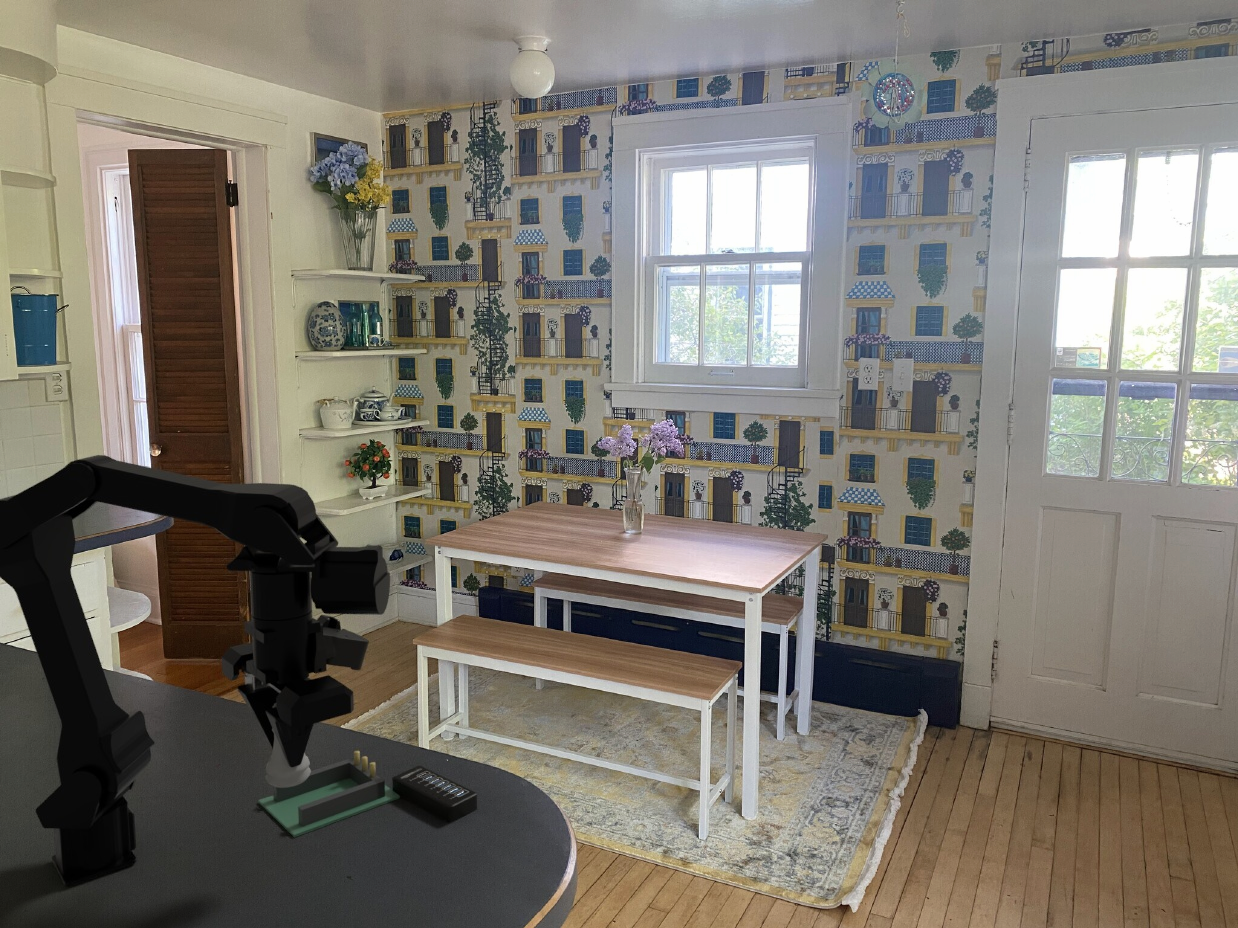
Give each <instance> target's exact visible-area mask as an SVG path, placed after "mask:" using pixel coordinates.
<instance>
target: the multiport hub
mask: <svg viewBox="0 0 1238 928" xmlns="http://www.w3.org/2000/svg"><path fill="white" fill-rule="evenodd" d="M391 783H392V784H391V790H393V791H394V792H395V793H397V794H398V795H399V796H400V798H402V799H403V800H405V801H407V802H408V803H411V804H412V805H414V806H416V807H418V808H420V809H422V810H424V811H426V812H428V813H430V814H431V815H433V816H435V817H437V818H438V819H441V820H442V821H444V822H446V823H450V824H451V823H454V822H455V821H458V820H460V819H462V818H464V817H465V816H467V815H469V814H472V813H473V812H475V811H477V810H478V792H476V791H475V790H473V789H470V788H469V787H466V786H465V785H462V784H460V783H458V782H456V781H454V780H452V779H450V778H449V777H445V776H444V775H442V774H440V773H438V772H435V771H434V770H432V769H429V768H427V767H425V766H423V765H415V766H414V767H412V768H408V769H407V770H403V771H402V772H400V773H398V774H396V775H393V776H392V778H391Z"/></svg>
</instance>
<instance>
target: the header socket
mask: <svg viewBox="0 0 1238 928" xmlns="http://www.w3.org/2000/svg"><path fill="white" fill-rule="evenodd" d="M360 755H361V752H360V750H355V751H354V752H353V757H350V758H347V759H343V760H341V761H337V762H335V763H331V764H329V765H326V766H323V767H320V768H317V769H314V770H313V769H312V770H311V773H310V775H309V777H308V778H307V779H306V780H305V781H304V782H303V783H301V784H299V785H296V786H292V787H287V788H278V787H273V786H272V790H273V791H272V794H273V795H270V796H267V797H263V798H260V799H258V801H257V803H258V804H259V805H260V806H261V807H263V809H265V810H266V812H268V814H270V815H271V817H272V818H274V819H275V820H276V821H277V823H279V824H280V826H282V827H283V828H284V829H285V830H286V831H287V832H288V833H289V834H290V835H291V836H292V837H293V838H297V837H299V836H301V835H305V834H307V833H311V832H312V831H315V830H319V829H320V828H323V827H326V826H329V825H331V824H333V823H338V822H339V821H342V820H345V819H347V818H351V817H353V816H356V815H358V814H360V813H361V814H362V813H363V812H367V811H369V810H371V809H375V808H378V807H379V806H383V805H385V804H387V803H391V802H393V801H396V800H398V799H400V798H401V797H400V796H399V795H398V794H397V793H395V792H394V791H393V790H392V788H390V787H389V786H387V784H385V783H386V781H385V779H383V778H381V777H380V776H379V775H377V774H376V773H377V772H376V762H375V761H372V762H369V765H368V761H369V760H368V759H369V758H368V756H365V755H364V756H360ZM368 766H369V767H368Z"/></svg>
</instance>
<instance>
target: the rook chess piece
mask: <svg viewBox="0 0 1238 928" xmlns="http://www.w3.org/2000/svg"><path fill="white" fill-rule="evenodd" d="M275 707H277V706H276V703H275V704H274V706H273V708H275ZM272 731H273V732H274V730H273V728H272ZM310 765H311V762H310V759H309V757H308V756H307V755H306V752H305V753H304V756H303V759H302V763H301V764H300V765H299V766H295V767H290V766H289V764H288V762H287V760H286V758H285V756H284V754H283V751H282V749H281V747H280V744H279V742H278V739H277V737H276V735H275V732H274V746H273V750H272V753H271V755H270V756H269V761H268V762H267V763H266V765H265V772H266V775H265V776H264V778H265V781H266V782H267V783H268V785H270V786H272V788H273V787H278V788H287V787H292V786H296V785H299V784H301V783H303V782H304V781H305V780H306V779H307V778H308V777H309V775H310V773H311V771H312V770H311V768H310Z"/></svg>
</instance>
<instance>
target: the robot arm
mask: <svg viewBox="0 0 1238 928" xmlns="http://www.w3.org/2000/svg"><path fill="white" fill-rule="evenodd" d="M97 503H102V504H106V505H111V506H117V507H121V508H126V509H130V510H134V511H139V512H144V513H148V514H153V515H158V516H163V517H167V518H173V519H177V520H182V521H186V522H190V523H195V524H201V525H204V526H207V527H209V528H211V529H214V530H216V531H217V532H219V533H220V534H221V535H223V536H224V537H226V538H227V539H228V540H230V541H233V542H236V543H237V544H241V545H243V547H242V548H241V550H240V552H239V553H238V554H237V556H236V557H234V558H233V559H232V560H231V561H230V562H228V563H227V564H226V569H227V570H228V571H229V572H249V586H250V587H249V589H250V591H249V592H250V612H251V613H250V614H251V620H247V621H244V632H245V633H246V634H249V636H251V638H252V642H247V643H243V644H238V645H234V646H229V648H227V650H226V651H225V652H224V654H223V655H222V656H221V669H222V670H221V673H222V675H223V676H225V678H227V679H228V680H229V681H236V680H238V677H239V676H240V670H241V673H243V674H244V684H241V685H238V686H237V692H238V694H240V696H241V697H242V699H243V702H245V705H246V706H247V708H248V710H249V711H250V712H251V714H252V716H253V719H254V720H255V721H256V723H257V725H258V726H259V728H260V730H261V732H262V734H263V735H264V737H265V739H266V741H267V743H268V745H269V747H270V749H271V750H272V751H273V746H274V732H275V735H276V737H277V739H278V742H279V744H280V747H281V749H282V751H283V754H284V756H285V758H286V760H287V762H288V764H289V766H290V767H295V766H299V765H300V764H301V763H302V759H303V756H304V753H305V754H306V749H307V746H308V744H309V739H310V737H311V733H312V729H313V727H314V725H315V724H319V723H321V722H325V721H328V720H331V719H335V718H338V717H342V716H346V715H349V714H352V712H353V711H354V710H355V709H354V708H355V706H354V705H355V702H354V700H355V699H354V691H353V690H352V689H351V688H349V687H347V685H345V684H344V683H342V682H341V681H338V680H337V679H336V678H334V677H332V676H331V675H329V674H327V675H324V676H323V675H322V676H320V677H316V678H310V674H313V673H314V675H315V674H320V673H324V672H327V665H329V666H335V667H343V668H344V667H345V668H350V670H352V671H353V670H354V671H360V670H361V669H362V666H363V663H364V660H365V657H366V653H367V649H368V647H369V642H370V640H369V639H367V638H365V637H363V636H361V635H359V634H357V633H355V632H353V631H350V630H348V629H346V628H342V627H341V620H340V619H337V618H336V617H334V616H332V615H366V616H367V615H375V616H378V615H380V616H381V615H384V614H385V612H386V610H387V607H388V602H389V598H390V597H389V596H390V591H391V590H390V588H391V573H390V571H388V565H387V564H388V563H387V561H386V559H385V558H384V556H383V555H384V554H383V553H384V552H383V549H384V548H383V546H381V545H375V544H374V545H366V546H339V541H338V540H337V538H336V536H334V535H333V533H332V531H330V529H329V528H328V527H327V526H326V524H325V523H324V522H323V520H321V518H320V517H319V515H318V514H317V509H316V505H315V503H314V500H313V499H312V497H311V496H310V494H309V493H308V491H307V490H305V489H304V488H303V487H301V486H298V485H295V484H290V483H288V484H287V483H286V484H285V483H269V482H268V483H264V482H258V483H257V482H255V483H251V482H250V483H223V482H219V481H214V480H209V479H204V478H200V477H195V476H192V475H186V474H182V473H178V472H177V473H176V472H173V471H172V472H171V471H167V470H163V469H160V468H159V469H158V468H153V467H148V466H145V465H139V464H137V463H136V464H134V463H130V462H126V461H121V460H116V459H114V458H112V457H111V456H108V455H104V454H97V455H92V456H88V457H84V458H79V459H75V460H73V461H70V462H68V463H67V464H66V465H65V466H63V468H61V469H60V470H58V471H56V472H55V473H53V474H52V475H51V476H49V477H47V478H45V479H43V480H41V481H39V482H37V483H35V484H34V485H32V486H30V487H28V488H26V489H24V490H23V491H21V492H19V493H17V494H14V495H11V496H10V495H9V496H7V497H6V496H5V497H3V498H0V579H2V581H4V582H5V583H7V584H8V586H10V587H11V588H12V589H13V590H14V592H15V594H16V598H17V600H18V603H19V605H20V609H21V611H22V615H23V618H24V621H25V622H26V625H27V629H28V631H29V635H30V636H31V637H30V638H31V640H32V643H33V646H34V649H35V651H36V654H37V658H38V660H39V664H40V666H41V669H42V672H43V674H44V677H45V680H46V683H47V686H48V689H49V692H50V695H51V698H52V701H53V704H54V706H55V709H56V712H57V715H58V718H59V721H60V732H59V737H58V738H59V739H58V746H57V750H56V758H55V760H56V766H57V772H58V773H57V774H58V778H59V784H60V785H58V787H57V788H56V789H55V790H54V791H53V792H52V793H51V794H50V795H48V797H47V798H46V799H44V801H42V802H41V804H40V805H39V806H37V807H36V809H35V814H36V816H37V817H38V820H39V823H40V825H41V826H42V828H43V829H53V835H54V848H55V849H54V851H55V854H54V855H52V856H51V862H52V864H53V866H54V868H55V869H56V872H57V873H58V875H59V878H60V879H61V881H62V882H63V884H64V886H65V887H72V886H75V885H77V884H80V883H81V884H82V883H83V882H88V881H89V880H92V879H95V878H97V877H101V876H104V875H106V874H109V873H112V872H114V871H118V870H120V869H123V868H127V867H129V866H132V865H134V864H136V863H137V857H136V855H135V853H134V852H133V851H134V850H135V849H136V848H137V836H136V822H135V813H134V812H133V809H131V807H130V806H129V804H128V800H127V799H126V798H125V796H124V795H125V794H126V793H128V791H130V790H133V788H134V787H135V785H136V781H137V779H138V778H139V777H141V775H142V774H144V772H145V771H146V770H147V767H148V766H149V763H150V762H151V759H152V752H151V747H153V746H154V745H155V744H156V743H155V740H154V739H152V737H151V736H150V734H149V732H148V730H147V725H146V718H145V715H144V713H143V712H142V711H141V710H138V711H135V712H133V713H130V714H128V712H126V711H125V710H124V709H123V708H121V707H120V706H119V705H118V704H117V703H116V702H115V699H114V698H113V695H112V693H111V692H112V691H111V689H110V687H109V683H108V679H107V677H106V674H105V672H104V668H103V666H102V662H101V660H100V657H99V653H98V650H97V647H96V644H95V641H94V639H93V635H92V633H91V630H90V627H89V624H88V622H87V618H86V615H85V612H84V610H83V606H82V603H81V600H80V596H79V594H78V591H77V588H76V585H75V583H74V580H73V576H72V566H73V559H74V553H75V547H76V537H75V536H76V535H75V528H74V520H75V519H77V518H78V517H80V516H81V515H83V514H85V513H86V512H87V511H89V510H90V509H91V508H92V507H94V506H95V505H96V504H97ZM303 541H305V542H303ZM313 603H314V608H315V609H316V610H321V612H322V613H323V614H320V615H319V616H318V618H317V619H316V618H314V617H313ZM275 703H276V706H277V707H275V708H273V706H274V704H275ZM272 728H273V730H274V732H273V731H272Z"/></svg>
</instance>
